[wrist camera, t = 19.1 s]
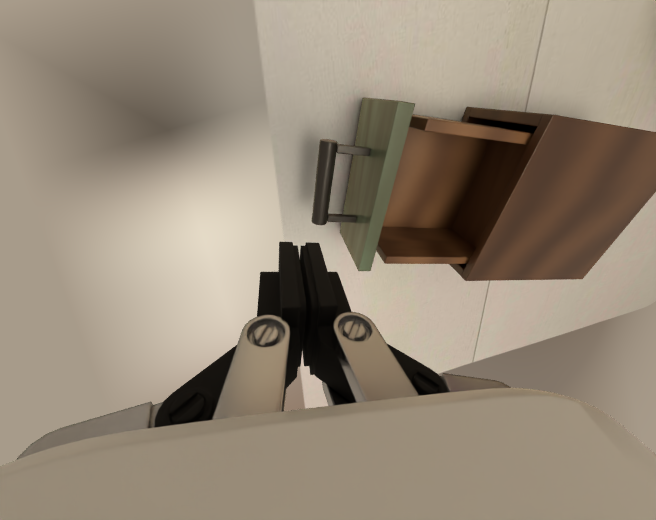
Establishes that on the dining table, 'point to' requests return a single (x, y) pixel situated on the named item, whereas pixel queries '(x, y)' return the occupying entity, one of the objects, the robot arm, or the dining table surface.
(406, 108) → the drawer
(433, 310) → the dining table surface
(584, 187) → the cabinet
